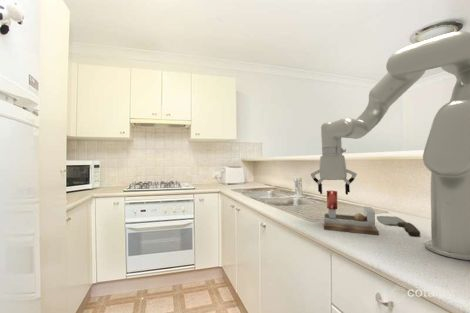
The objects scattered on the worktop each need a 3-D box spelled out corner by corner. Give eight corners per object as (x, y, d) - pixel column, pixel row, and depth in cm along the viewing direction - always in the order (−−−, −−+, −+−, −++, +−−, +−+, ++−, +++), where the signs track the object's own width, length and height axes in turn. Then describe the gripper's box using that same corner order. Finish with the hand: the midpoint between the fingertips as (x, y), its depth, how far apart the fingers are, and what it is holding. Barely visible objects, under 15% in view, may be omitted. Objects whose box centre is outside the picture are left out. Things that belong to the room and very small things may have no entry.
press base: (371, 223, 95) (371, 220, 95) (378, 235, 80) (378, 230, 81) (324, 219, 102) (324, 216, 102) (323, 229, 87) (323, 225, 87)
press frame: (370, 221, 93) (370, 206, 93) (375, 228, 83) (375, 212, 84) (324, 217, 100) (324, 203, 100) (324, 223, 90) (323, 208, 90)
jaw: (337, 218, 96) (337, 190, 96) (337, 223, 90) (337, 192, 90) (327, 218, 98) (326, 189, 98) (326, 222, 91) (326, 192, 91)
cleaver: (428, 238, 77) (428, 232, 78) (395, 235, 81) (394, 229, 81) (397, 219, 105) (397, 214, 106) (373, 217, 108) (372, 212, 109)
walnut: (354, 222, 92) (365, 222, 91) (355, 225, 89) (366, 224, 87) (352, 212, 93) (363, 212, 91) (353, 214, 89) (365, 214, 87)
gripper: (354, 151, 94) (356, 193, 93) (310, 153, 101) (312, 192, 100) (356, 150, 87) (358, 195, 87) (309, 152, 94) (310, 194, 93)
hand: (333, 193), depth 93 cm, fingers open, 9 cm apart
